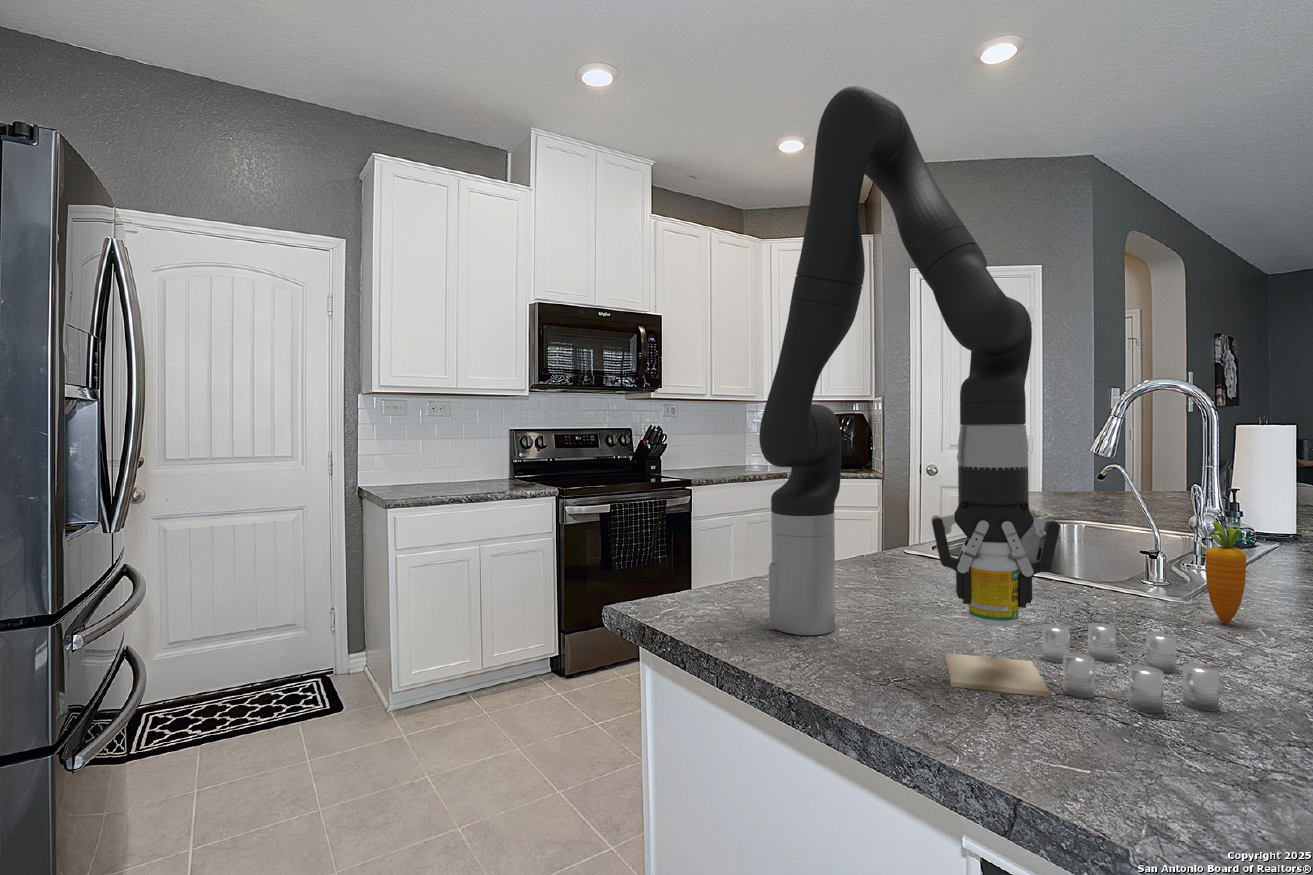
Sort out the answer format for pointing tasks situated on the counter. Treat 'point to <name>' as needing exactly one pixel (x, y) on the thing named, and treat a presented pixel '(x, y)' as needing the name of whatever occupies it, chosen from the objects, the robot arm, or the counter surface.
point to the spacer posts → (1130, 668)
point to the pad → (995, 674)
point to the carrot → (1225, 573)
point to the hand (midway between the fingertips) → (993, 603)
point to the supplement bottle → (994, 585)
